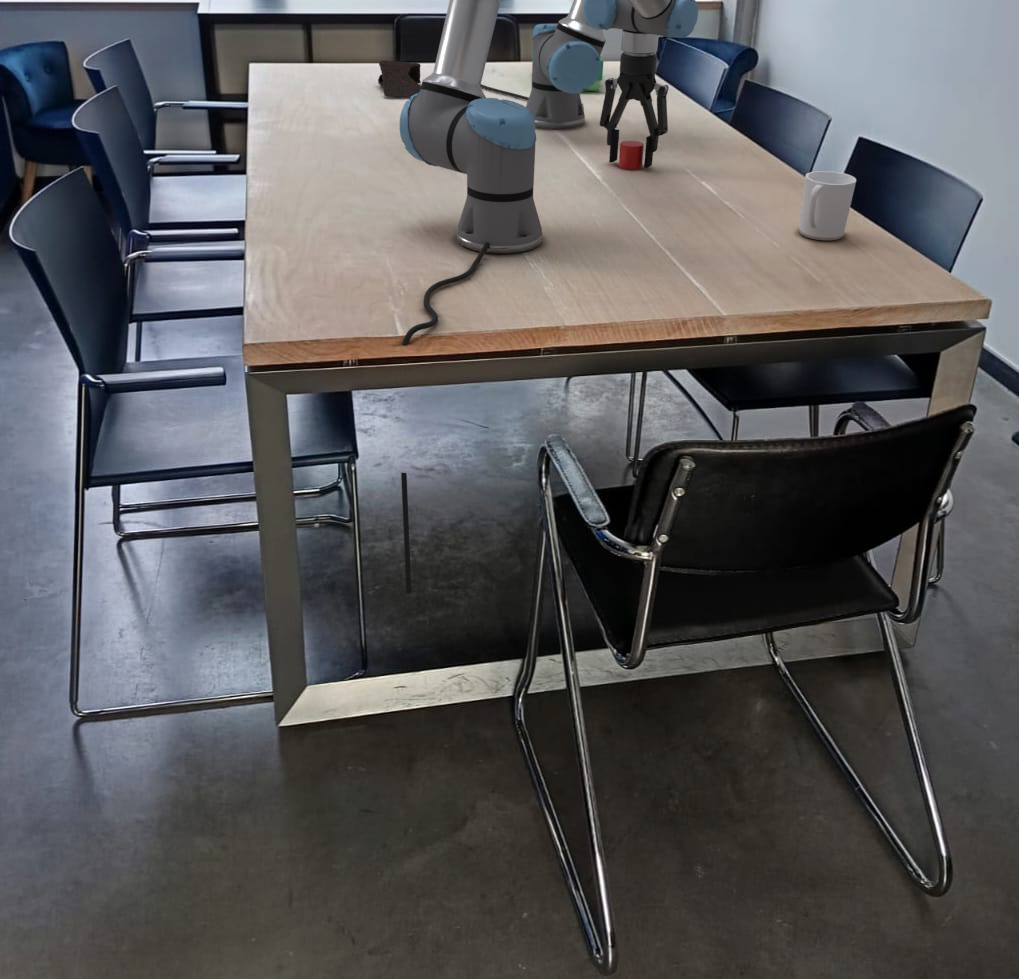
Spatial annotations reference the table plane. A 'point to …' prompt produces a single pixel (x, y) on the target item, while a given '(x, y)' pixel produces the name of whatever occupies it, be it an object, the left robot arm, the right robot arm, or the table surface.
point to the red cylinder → (631, 155)
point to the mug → (826, 204)
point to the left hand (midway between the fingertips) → (630, 163)
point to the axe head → (399, 78)
